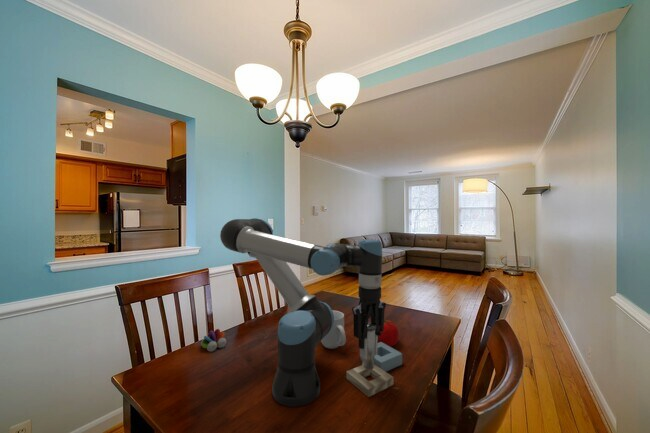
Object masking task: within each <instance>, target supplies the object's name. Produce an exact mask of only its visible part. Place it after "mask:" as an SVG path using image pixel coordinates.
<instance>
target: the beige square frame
mask: <svg viewBox="0 0 650 433" xmlns="http://www.w3.org/2000/svg"><path fill="white" fill-rule="evenodd" d="M345 372H346V375H345V376H346V378H345V379H346V380H347V381H349V382H350V383H351V384H352V385H354V387H356V388H357V389H358V390H359V391H360V392H361V393H363V395H365V396H366V397H368V398H370V397H372V396H374V395H376V394H378V393H380V392H382V391H384V390H386V389H388V388H390V387H392V386H393V385H394V376H392V375H391V374H390V373H388V372H387V371H386V372H385V371H383V370H382V369H380V368H379V367H377V366H376V365H374V368H373V369H370V370H369V369H365V368H363V366H362V364H361V365H359V366H356V367H354V368H352V369H349V370H346V371H345ZM369 376H371V377H372V378H374V379H372V380H368V379H367V378H366V377H369Z"/></svg>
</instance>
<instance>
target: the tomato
mask: <svg viewBox="0 0 650 433" xmlns="http://www.w3.org/2000/svg"><path fill="white" fill-rule="evenodd" d="M380 333H381V336H379V342H382V343H384V344H386V345H388V346H389V347H391V348H393V346H394V345H396V344H397V343H398V341H399V329H398V327H397V326H396V324H394V322H393V321H391V320H389V319H384V330H383V332H380ZM379 342H378V343H379Z"/></svg>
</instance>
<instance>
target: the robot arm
mask: <svg viewBox="0 0 650 433" xmlns="http://www.w3.org/2000/svg"><path fill="white" fill-rule="evenodd" d="M273 232H274V230H273V227H272V226H271V224H270V223H269V222H268V221H267V220H265V219H262V218H261V219H260V218H249V219H248V218H238V219H237V218H236V219H235V218H234V219H232V220H229V221H228V222H226V223H225V224H224V225H223V226H222V228H221V229H220V233H219V234H220V235H219V236H220V241H221V243H222V245H223V246H224V247H225V248H226V249H228V250H229V251H233V252H236V253H240V254H247V255H249V257H250V258H255V259H256V261H257V262H258V263H259V265H260V266H261V268H262V269H263V271H264V273H265V274H266V275H267V276H268V278H269V279H270V281H271V283H272V284H273V285H274V287H275V288H276V289H277V291H278V292H279V294H280V296H281V297H282V298H283V300H284V301H285V303H286V304H287V306H288V307H289V310H290V311H289V312H287V313H286V314H284V315H283V316H282V317H281V318H280V320H279V322H278V327H277V344H278V345H277V368H276V371H275V376H274V377H273V378H274V379H273V381H272V390H271V391H272V392H271V393H272V397H273V399H274V400H275V401H276V402H277V403H278V404H280V405H283V406H286V407H290V408H291V407H292V408H297V407H302V406H306V405H309V404H311V403H313V402H314V401H315V400H317V398H318V397H319V396H320V392H321V381H320V377H319V374H318V371H317V367H316V357H315V356H316V347H317V346H318V344H320V342H321V340H322V339H323V338H324V337H325V336H326V335H327V334H328V333H329V332H330V330H331V328H332V326H333V323H334V314H333V311H332V308H331V306H330V305H329V304H328V303H326V302H323V301H320V300H319V299H318V297H317V296H316V295H315V294H310V293H309V292H308V290H307V289H306V288H305V287H304V285H303V284H302V282H301V280H300V279H299V278H298V276H297V275H296V274H295V272H294V271H293V270H292V268H291V267H290V266H289V264H293V265H296V266H300V267H304V268H306V269H307V268H308V269H312V270H313V272H314V273H315V274H317V275H319V276H328V275H332V274H334V273H335V272H337V271H338V270H340V269H342V268H344V267H351V268H358V285H359V286H358V293H357V294H358V298H359V300H358V305H357V306H356V307H354V306H353V307H352V308H351V311H352V315H353V336H354V337H355V338H357V339H358V347H359V357H362V358H364V359H367V339H366V338H365V337H366V331H367V325H368V322H369V319H370V322H372V323H374V324H376V329H375V355H377V344H378V342H379V336H381V333H380V332H383V330H384V321H385V309H386V307H387V303H386V302H385V301H382V300H381V298H382V274H383V273H382V269H383V268H382V267H383V266H382V265H383V245H382V242H381V241H380V240H379V239H373V238H372V239H371V238H369V239H368V238H367V239H360V240H359V242H358V243H359V244H346V243H338V242H336V243H327V245H326V246H322V245H318V244H313V243H310V242H305V241H301V240H297V239H293V238H287V237H284V236H279V235H275V234H273ZM288 263H289V264H288Z"/></svg>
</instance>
